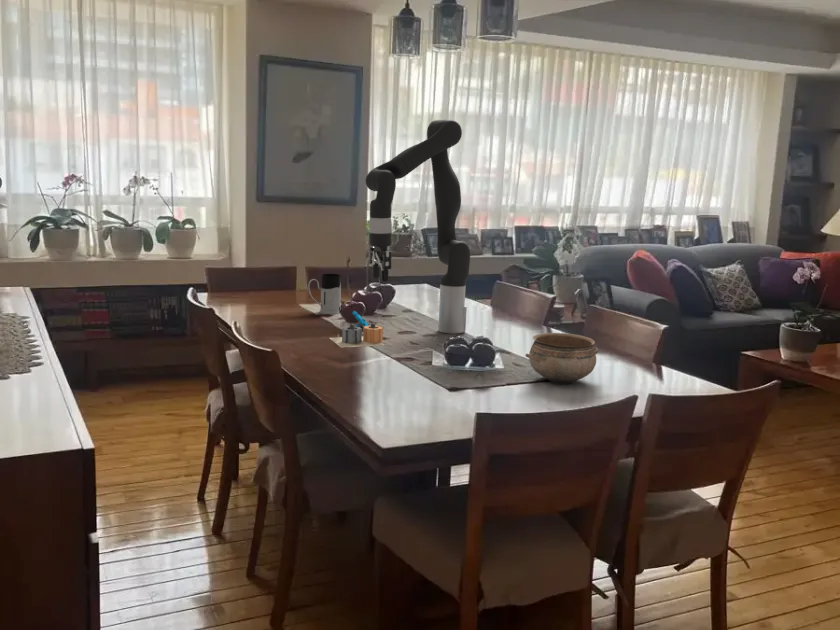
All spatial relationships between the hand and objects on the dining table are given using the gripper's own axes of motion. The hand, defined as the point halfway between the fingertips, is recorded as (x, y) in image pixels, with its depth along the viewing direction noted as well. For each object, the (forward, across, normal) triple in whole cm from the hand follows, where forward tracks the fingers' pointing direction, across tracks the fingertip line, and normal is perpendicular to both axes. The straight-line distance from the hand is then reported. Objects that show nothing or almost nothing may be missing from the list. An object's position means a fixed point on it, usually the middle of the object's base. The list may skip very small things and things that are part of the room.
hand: (380, 279), depth 255 cm
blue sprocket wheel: (+21, +15, +1) cm, 26 cm away
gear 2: (+20, -4, +4) cm, 21 cm away
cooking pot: (+22, -60, -33) cm, 72 cm away
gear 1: (+20, -4, +11) cm, 23 cm away
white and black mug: (+21, +52, +5) cm, 56 cm away
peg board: (+21, -4, +10) cm, 23 cm away
